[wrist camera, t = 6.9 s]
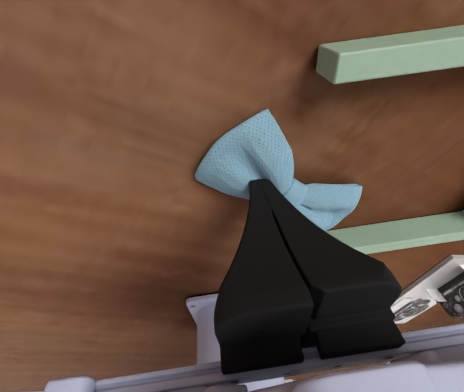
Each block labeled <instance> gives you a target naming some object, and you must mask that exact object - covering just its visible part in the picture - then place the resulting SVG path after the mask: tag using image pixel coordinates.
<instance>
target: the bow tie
mask: <svg viewBox="0 0 464 392" xmlns="http://www.w3.org/2000/svg"><path fill="white" fill-rule="evenodd" d="M293 175H294V159H293V154H292V150H291V148H290V146H289V144H288V142H287V141H286V139H285V137H284V135H283V133H282V131H281V129H280V127H279V125H278V124H277V122H276V121H275V119H274V118H273V116H272V114H271V113H270V111H269V110H268V109H266V110H264V111H261V112H260V113H258V114H256V115H254V116H253V117H251V118H249V119H247V120H246V121H244V122H242V123H241V124H239V125H238V126H236V127H235V128H233V129H232V130H230V131H229V132H227V133H226V134H224V135H223V136H222V137H221V138H219V139H218V140H217V141H216V142H215V143H214V144H213V146H212V147H211V148H210V150H209V151H208V152H207V154H206V155H205V157H204V158H203V160H202V161H201V163H200V165H199V166H198V168H197V171H196V173H195V179H196V180H197V181H199V182H201V183H203V184H205V185H207V186H209V187H212V188H214V189H216V190H218V191H220V192H223V193H225V194H228V195H231V196H235V197H239V198H243V199H248V200H249V184H248V183H249V181H250V180H257V179H269V180H270V181H271V182H272V183H273V184H274V185H275V186H276V188H277V189H278V190H279V191H280V192H281V193H282V194H283V196H284V197H285V198H286V199H287V200H288V201H289V202H290V203H291V204H292V205H293V206H294V207H295V208H297V209H298V210H299V211H300V212H301V213H302V214H303V215H304V216H306V217H307V218H308V219H309V220H310V221H312V222H313V223H314V224H316V225H317V226H318V227H320V228H321V229H323V230H324V231H327V230H329V229H330V228H332V227H334V226H335V225H336V224H338V223H339V222H340V221H341V220H342V219H343V218H344V217H345V216H347V215H348V214H349V213H351V212H352V211H353V210H354V209H355V207H356V206H357V204H358V201H359V199H360V197H361V192H362V186H360V185H357V184H317V183H312V184H307V185H304V184H303V183H301V182H299V181H298V180H296V179H295V178H293Z"/></svg>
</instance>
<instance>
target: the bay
mask: <svg viewBox="0 0 464 392" xmlns="http://www.w3.org/2000/svg"><path fill="white" fill-rule="evenodd" d="M457 67H464V25H460V26H452V27H445V28H438V29H430V30H423V31H416V32H408V33H401V34H393V35H386V36H379V37H371V38H364V39H357V40H349V41H342V42H334V43H327V44H321V45H319V50H318V57H317V65H316V72H317V73H318V74H320V75H321V76H323V77H324V78H325V79H327V80H328V81H330V82H331V83H333V84H341V83H348V82H355V81H362V80H370V79H377V78H384V77H391V76H399V75H406V74H413V73H420V72H428V71H435V70H442V69H449V68H457ZM325 232H327V233H329V234H330V235H332V236H333V237H335V238H337V239H338V240H340V241H341V242H343V243H345V244H347V245H348V246H350V247H352V248H354V249H356V250H358V251H360V252H362V253H364V254H370V253H377V252H384V251H391V250H397V249H404V248H411V247H417V246H424V245H431V244H438V243H444V242H451V241H458V240H464V210H463V211H458V212H451V213H444V214H438V215H431V216H424V217H417V218H410V219H404V220H397V221H390V222H383V223H376V224H370V225H363V226H356V227H349V228H342V229H336V230H329V231H325Z"/></svg>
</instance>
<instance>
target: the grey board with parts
mask: <svg viewBox="0 0 464 392" xmlns="http://www.w3.org/2000/svg"><path fill="white" fill-rule="evenodd" d="M437 303H440V304H441V306H442V307H443V308H444V310H445V311H446V312H447V313H448V314H449V315H450V316H451V317H453V318H462V317H464V255H450V256H448V257H447V258H446V259H444V260H443V261H442V262H440V263H439V264H438V265H436V266H435V267H434V268H432V269H431V270H430V271H428V272H427V273H426V274H424V275H423V276H422V277H420V278H419V279H418V280H416V281H415V282H414V283H412V284H411V285H410V286H408V287H407V288H406V289H404V290H403V291H402V292H401V294H400V296H399V298H398V299H397V300H396V301H395V302H394V304H393V305H392V306H391V307H390V308H391V310H392V312H393V313H394V315H395V320H393V321H394V322H395V323H406V322H407V321H409V320H411V319H412V318H414V317H416V316H417V315H419V314H420V313H422V312H424V311H425V310H427V309H429V308H430V307H432V306H433V305H435V304H437Z"/></svg>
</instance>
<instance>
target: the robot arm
mask: <svg viewBox="0 0 464 392" xmlns="http://www.w3.org/2000/svg"><path fill="white" fill-rule="evenodd" d="M248 184H249V209H248V214H247V219H246V224H245V228H244V231H243V235H242V238H241V241H240V244H239V247H238V249H237V252H236V254H235V257H234V259H233V261H232V264H231V266H230V268H229V270H228V272H227V274H226V276H225V278H224V280H223V282H222V284H221V286H220V289H219V293H217V294H211V295H204V296H197V297H191V298H188V299H187V300H186V305H187V307H188V309H189V311H190V313H191V315H192V317H193V318H194V320H195V322H196V324H197V365H192V366H186V367H179V368H173V369H166V370H160V371H154V372H147V373H141V374H134V375H128V376H121V377H115V378H108V379H102V380H95V379H94V378H93V377H90V376H73V377H67V378H61V379H54V380H50V381H49V382H48V383H47V385H46V387H45V390H44V392H464V323H463V324H456V325H450V326H443V327H437V328H431V329H424V330H418V331H411V332H405V333H400V331H399V329H398V328H397V326H396V324H395V322H394V321H393V320H395V315H394V313H393V312H392V310H391V308H390V307H391V306H392V305H393V304H394V302H395V301H396V300H397V299H398V298H399V296H400V294H401V292H402V287H401V286H400V284H399V283H398V281H397V280H396V278H395V277H394V275H393V274H392V273H391V271H390V270H389V269H388V268H387V267H386V265H385V264H384V263H383V262H381V261H379V260H376V259H374V258H372V257H370V256H368V255H366V254H364V253H362V252H360V251H358V250H356V249H354V248H352V247H350V246H348V245H347V244H345V243H343V242H341V241H340V240H338V239H337V238H335V237H333V236H332V235H330V234H329V233H327V232H325V231H324V230H323V229H321V228H320V227H318V226H317V225H316V224H314V223H313V222H312V221H310V220H309V219H308V218H307V217H306V216H304V215H303V214H302V213H301V212H300V211H299V210H298V209H297V208H295V207H294V206H293V205H292V204H291V203H290V202H289V201H288V200H287V199H286V198H285V197H284V196H283V194H282V193H281V192H280V191H279V190H278V189H277V188H276V186H275V185H274V184H273V183H272V182H271V181H270V180H269V179H257V180H250V181H249V183H248ZM390 360H392V361H391V362H390V363H389V364H382V365H376V366H370V367H363V368H357V369H350V370H344V371H338V372H331V373H326V374H321V375H316V376H312V377H309V378H306V379H302V380H298V381H293V382H289V383H285V380H284V377H288V376H294V375H300V374H307V373H313V372H319V371H326V370H332V369H339V368H345V367H351V366H358V365H364V364H371V363H377V362H383V361H390Z"/></svg>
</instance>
